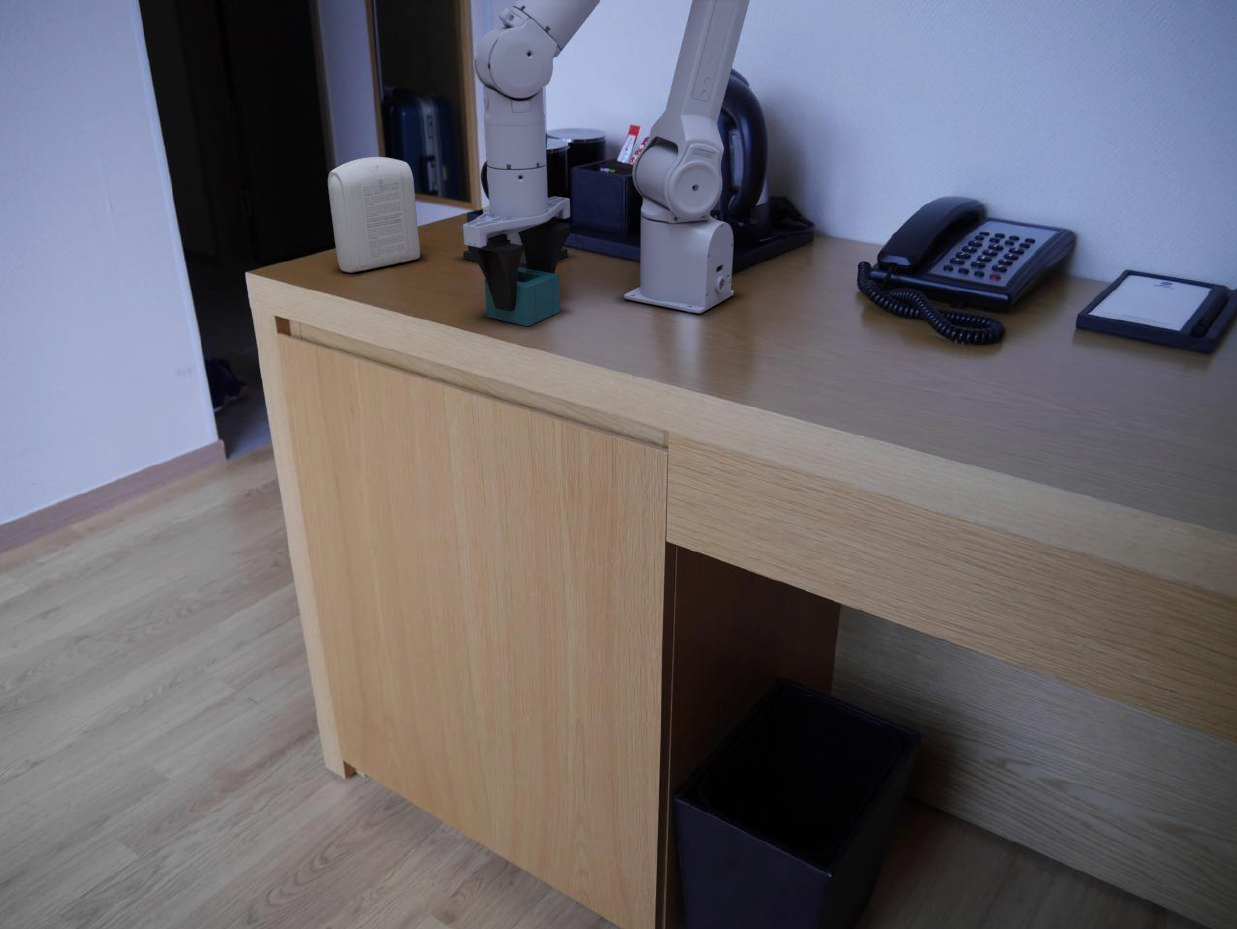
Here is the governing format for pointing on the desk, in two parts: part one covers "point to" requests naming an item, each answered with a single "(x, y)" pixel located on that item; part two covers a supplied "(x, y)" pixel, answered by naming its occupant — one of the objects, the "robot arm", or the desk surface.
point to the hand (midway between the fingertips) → (523, 301)
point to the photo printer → (373, 213)
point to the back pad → (522, 261)
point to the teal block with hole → (529, 298)
